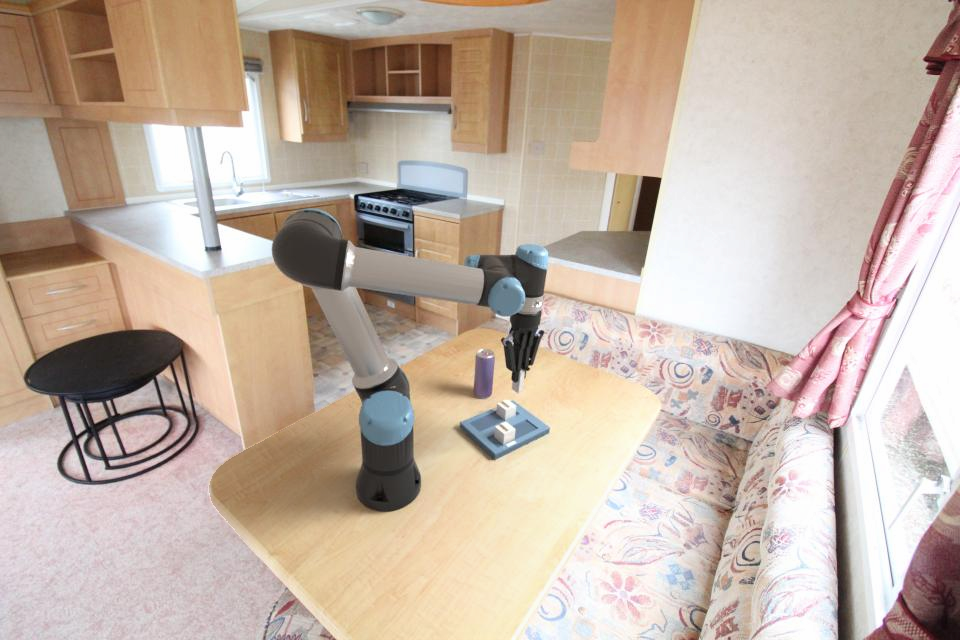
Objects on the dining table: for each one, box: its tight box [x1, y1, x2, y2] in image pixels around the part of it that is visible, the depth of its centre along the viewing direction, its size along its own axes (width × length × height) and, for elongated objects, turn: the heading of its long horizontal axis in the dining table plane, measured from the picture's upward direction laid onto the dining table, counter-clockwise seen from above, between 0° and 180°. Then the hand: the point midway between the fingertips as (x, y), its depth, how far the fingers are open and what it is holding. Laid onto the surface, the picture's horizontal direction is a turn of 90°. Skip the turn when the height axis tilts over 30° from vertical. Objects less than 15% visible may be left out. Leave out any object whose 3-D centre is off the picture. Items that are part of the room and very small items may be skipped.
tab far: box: [496, 398, 516, 420], centre depth 136 cm, size 4×4×4 cm
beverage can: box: [473, 348, 496, 400], centre depth 145 cm, size 6×6×15 cm
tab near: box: [494, 422, 516, 445], centre depth 126 cm, size 4×4×4 cm
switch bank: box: [459, 399, 551, 461], centre depth 132 cm, size 20×16×2 cm
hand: (517, 390), depth 123 cm, fingers closed
